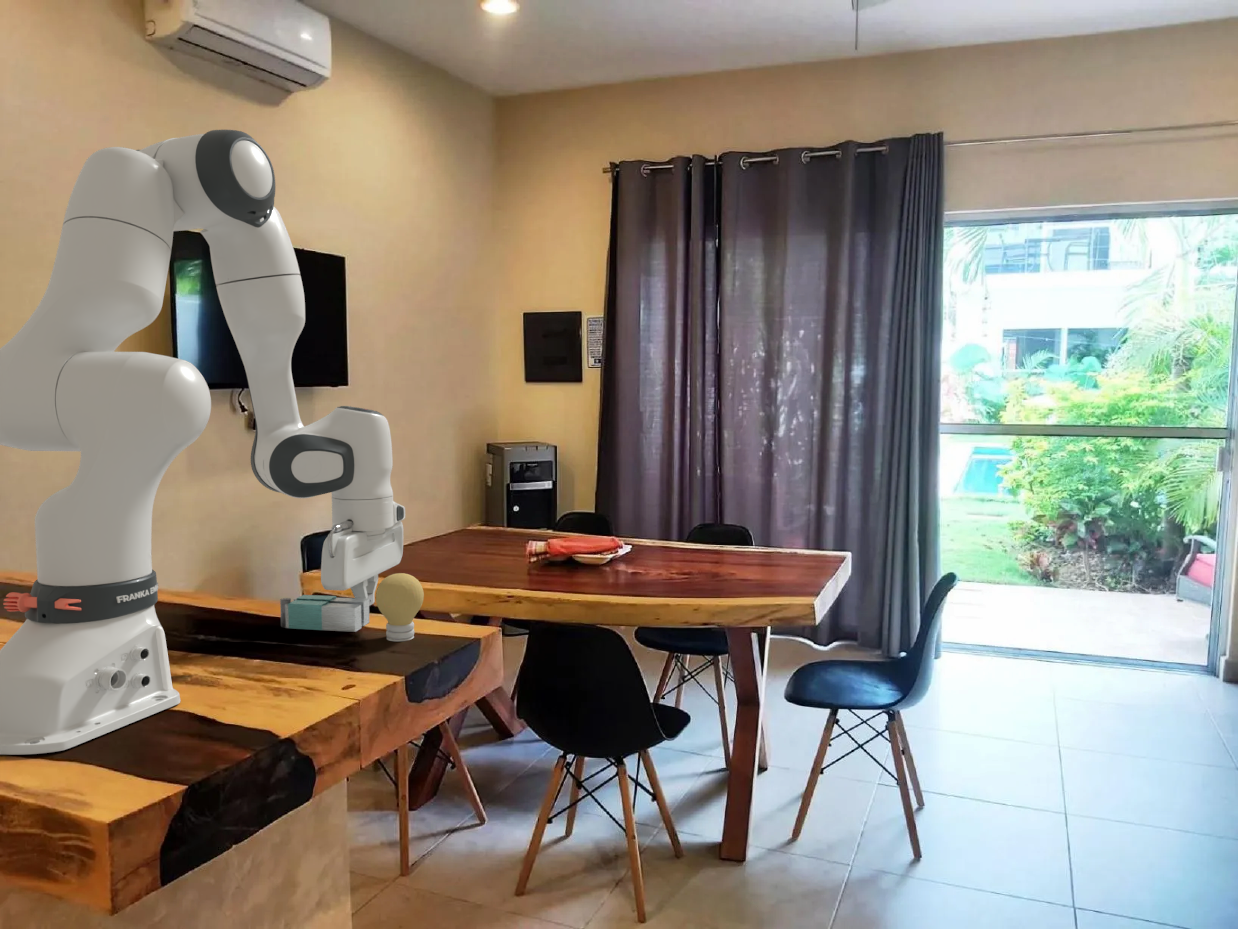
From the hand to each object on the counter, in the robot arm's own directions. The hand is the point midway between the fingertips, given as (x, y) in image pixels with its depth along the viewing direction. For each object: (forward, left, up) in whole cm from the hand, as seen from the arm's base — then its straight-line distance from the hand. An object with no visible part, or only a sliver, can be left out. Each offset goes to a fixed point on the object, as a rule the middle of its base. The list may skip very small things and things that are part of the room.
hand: (364, 606), depth 135 cm
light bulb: (-11, -10, -3) cm, 15 cm away
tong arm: (-5, +3, -1) cm, 6 cm away
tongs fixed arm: (-8, +3, -1) cm, 9 cm away
